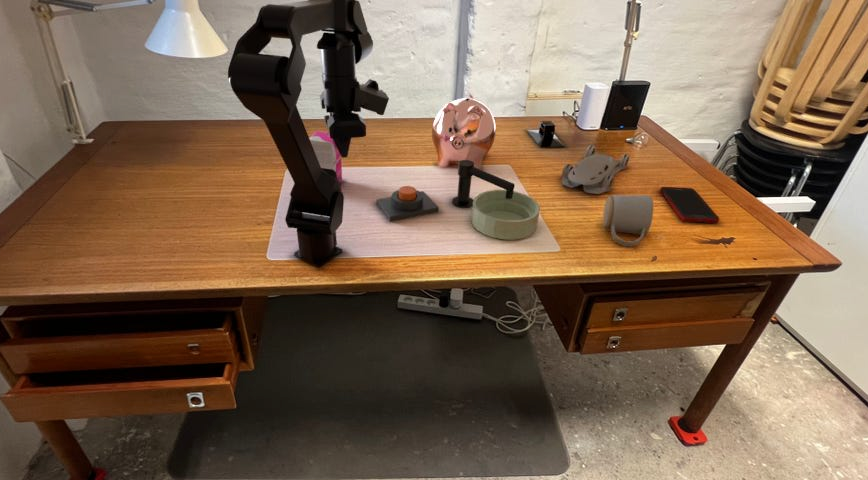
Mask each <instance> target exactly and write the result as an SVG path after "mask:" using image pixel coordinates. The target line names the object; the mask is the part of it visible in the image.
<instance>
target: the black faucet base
mask: <svg viewBox="0 0 868 480" xmlns="http://www.w3.org/2000/svg"><path fill="white" fill-rule="evenodd" d="M457 185H458V186H457V187H458V188H457V196H455V197H453V198H452V200H451V204H452V205H453V206H454V207H456V208H459V209H470V208H472V206H473V201H474V198H471V197H470V195H471V185H472V177H469V178H464V177H460V176H459V175H458V184H457Z"/></svg>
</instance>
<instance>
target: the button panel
mask: <svg viewBox="0 0 868 480" xmlns="http://www.w3.org/2000/svg"><path fill="white" fill-rule="evenodd" d="M391 193H392V194H391V196H388V197H383V198H377V199H376V202H375V203H376V206H377V207H378V208H379V209H380V211H381V212H382V214H383V215H384V216H385V217H386V219H387V221H389V222H395V221H400V220H406V219H410V218H415V217H421V216H425V215H432V214H436V213H439V206H438V205H437V204H436V203H435V201H433V200H432V199H431V198H430V196H428V195H427V193H425V192H424V190H417V189H416V198H415V199H414V200H409V201H406V200H401V199H399V189H397V190H395V191H393V192H391Z"/></svg>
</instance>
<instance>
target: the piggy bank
mask: <svg viewBox="0 0 868 480" xmlns="http://www.w3.org/2000/svg"><path fill="white" fill-rule="evenodd" d="M468 97H469V98H468ZM468 97H463V98H458V99H455V100H452V101H451V102H450V101H449V102H448V103H446V104H445V105H444V106H443V107H441V109H440V110H439V111H438V113H437V115H436V117H435V118H434V121H433V124H432V128H431V136H432V137H431V138H432V139H431V140H432V142H433V146H434V148H435V151H436V153H437V166H438V167H441V168H447V167H449V166H450V164H451V163H458V164H459V161H461V160H470V161H472V162H474V167H476V168H478V169H481V170H482V163H483V160H484V159H485V157H486V156H487V154H489V152H490V150H491V149H492V147H493V145H494V142H495V138H496V131H497V129H496V127H497V126H496V121H495V118H494V115H493V114H492V111H491V110H490V109H489V108H488V106H486V105H485V104H484V103H483V102H481V101H479V100H476V99H474V97H473V95H472V94H471V93H469V94H468Z"/></svg>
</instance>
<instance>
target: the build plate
mask: <svg viewBox="0 0 868 480" xmlns="http://www.w3.org/2000/svg"><path fill="white" fill-rule="evenodd" d="M555 128H556V124H555V123H554V122H553V121H552V120H541V121H540V124H539V128H538V129H527V130H526V132H527V134H528V135H529V136H530V137H531V138H532V140H533V141H534V142H535V144H536V145H537V146H538V148H540V149H552V148H553V149H554V148H555V149H556V148H565V147H566V146H565V144H564V143H563V142H562V141H561V140H560V139H559V138H558V136H557V135H556V134H555V132H556V129H555Z"/></svg>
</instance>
